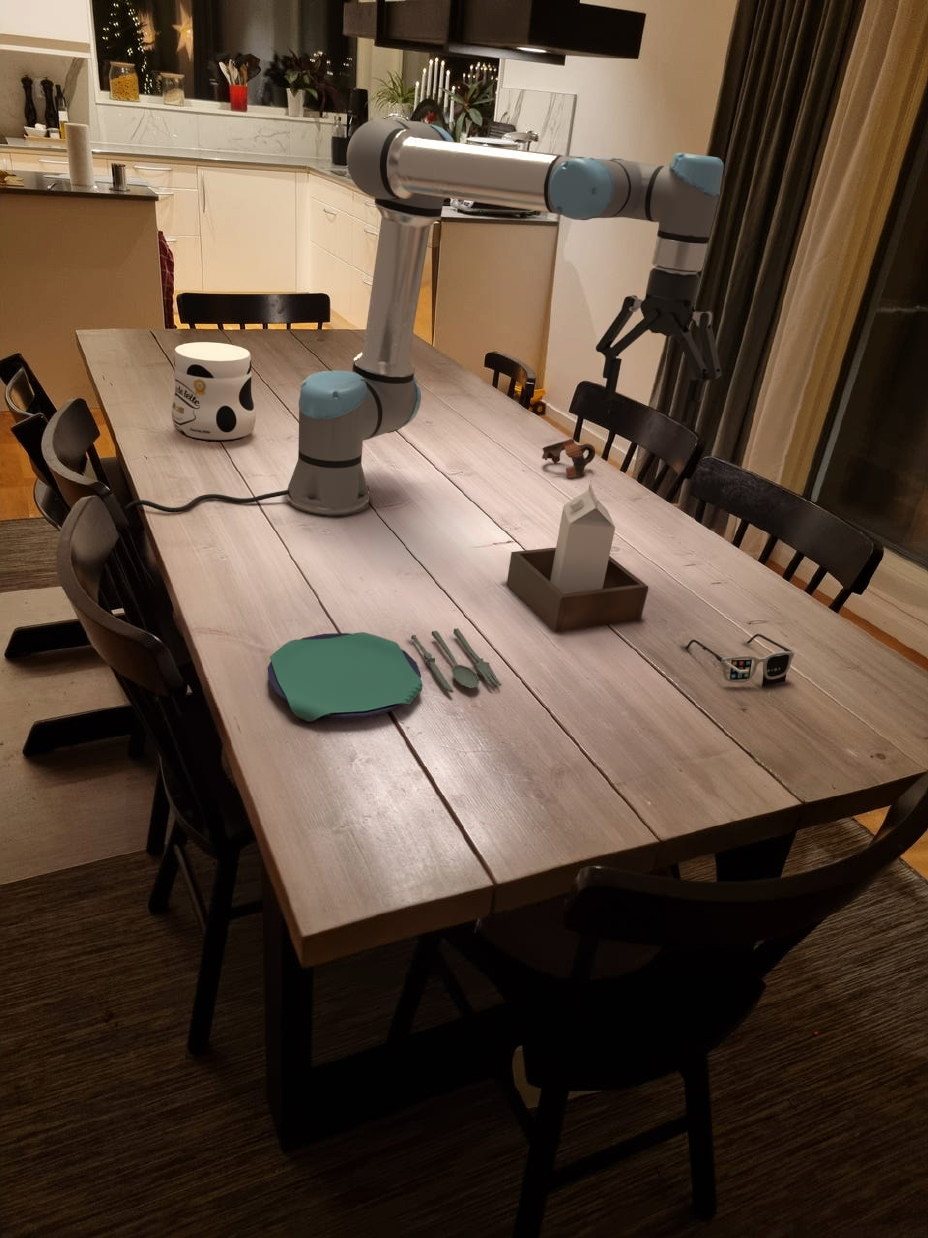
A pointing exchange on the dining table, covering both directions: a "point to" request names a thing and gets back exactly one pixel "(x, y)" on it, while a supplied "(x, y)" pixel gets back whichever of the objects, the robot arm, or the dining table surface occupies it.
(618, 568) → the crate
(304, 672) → the cutlery set
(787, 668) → the smart glasses
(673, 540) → the dining table surface
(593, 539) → the milk carton
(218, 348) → the milk container
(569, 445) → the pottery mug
